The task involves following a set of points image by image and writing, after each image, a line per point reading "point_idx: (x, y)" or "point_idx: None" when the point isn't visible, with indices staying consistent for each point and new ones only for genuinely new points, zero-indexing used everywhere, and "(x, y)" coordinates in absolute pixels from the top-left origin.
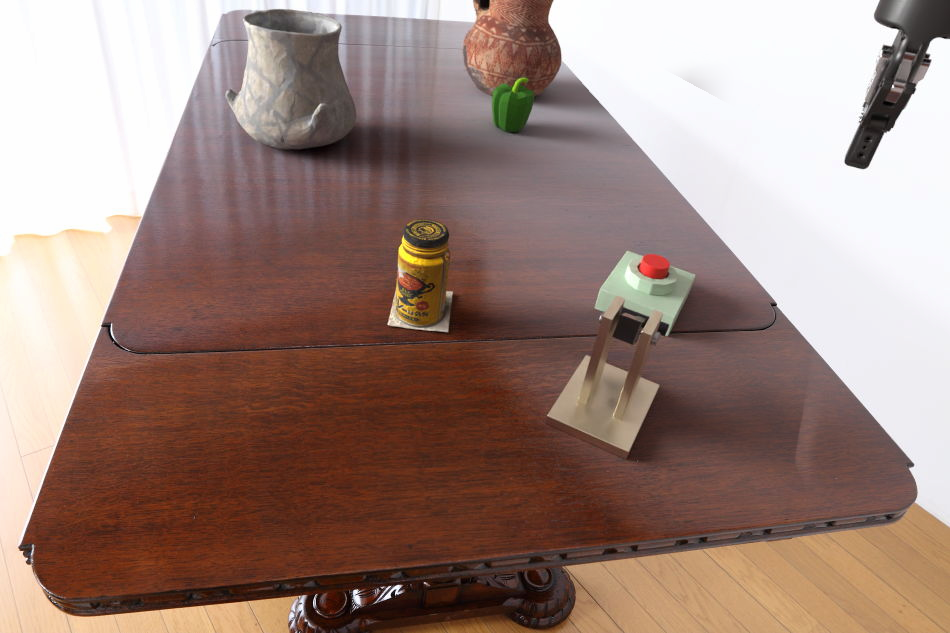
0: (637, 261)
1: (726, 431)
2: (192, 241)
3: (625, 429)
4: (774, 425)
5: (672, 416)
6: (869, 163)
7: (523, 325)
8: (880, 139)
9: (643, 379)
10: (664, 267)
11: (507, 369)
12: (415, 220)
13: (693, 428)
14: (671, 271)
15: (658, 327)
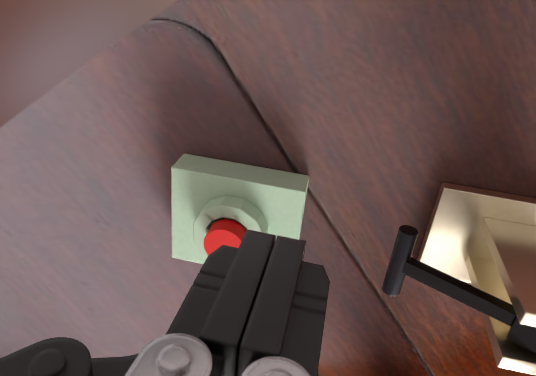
0: None
1: (494, 89)
2: None
3: None
4: (455, 19)
5: (485, 160)
6: (302, 251)
7: (371, 326)
8: (284, 331)
9: (440, 207)
10: (233, 236)
11: (462, 331)
12: None
13: (502, 133)
14: (214, 215)
15: (414, 244)
